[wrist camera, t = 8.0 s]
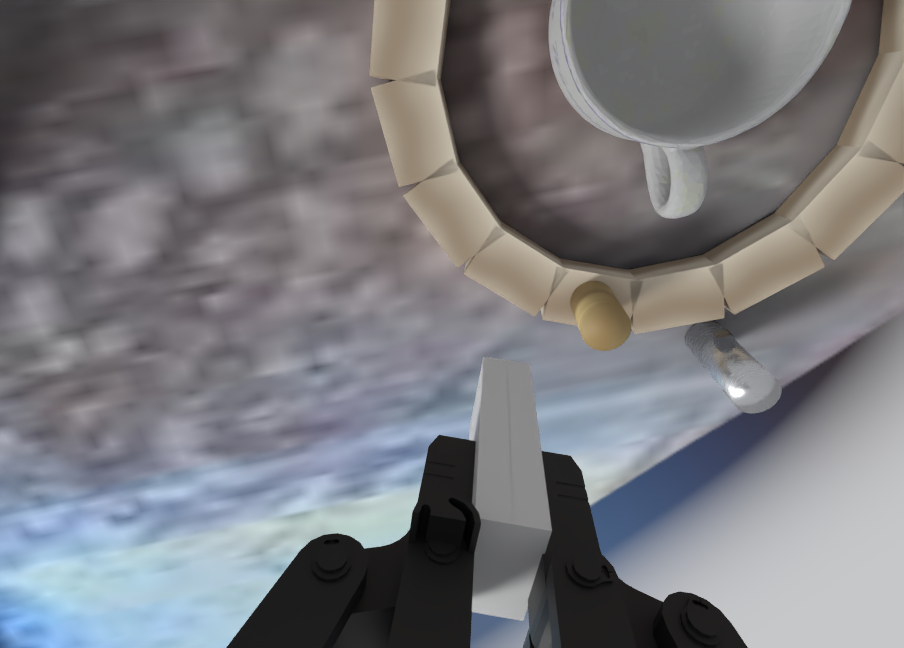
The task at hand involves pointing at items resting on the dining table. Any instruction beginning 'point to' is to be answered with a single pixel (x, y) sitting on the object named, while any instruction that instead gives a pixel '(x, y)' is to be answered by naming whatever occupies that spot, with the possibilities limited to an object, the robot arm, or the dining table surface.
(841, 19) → the teacup
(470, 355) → the dining table surface
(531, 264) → the ring
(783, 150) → the dining table surface
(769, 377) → the shiny cylinder
